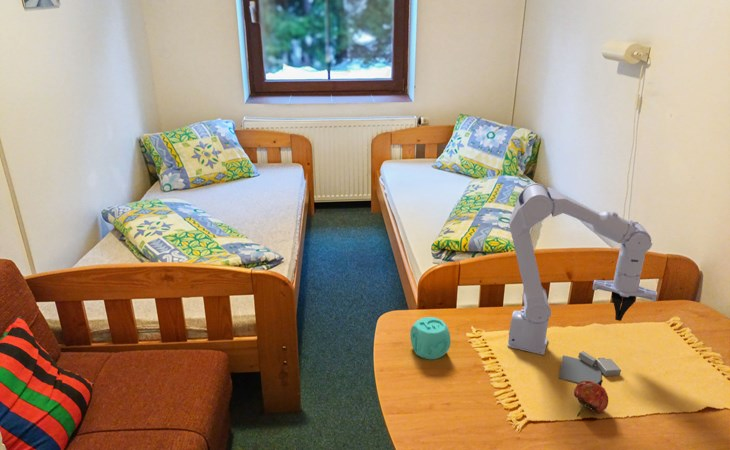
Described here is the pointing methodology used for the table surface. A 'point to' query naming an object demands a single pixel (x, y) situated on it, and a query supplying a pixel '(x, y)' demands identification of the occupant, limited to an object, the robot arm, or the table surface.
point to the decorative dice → (430, 338)
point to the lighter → (601, 364)
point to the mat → (578, 371)
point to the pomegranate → (591, 396)
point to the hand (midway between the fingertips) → (618, 318)
